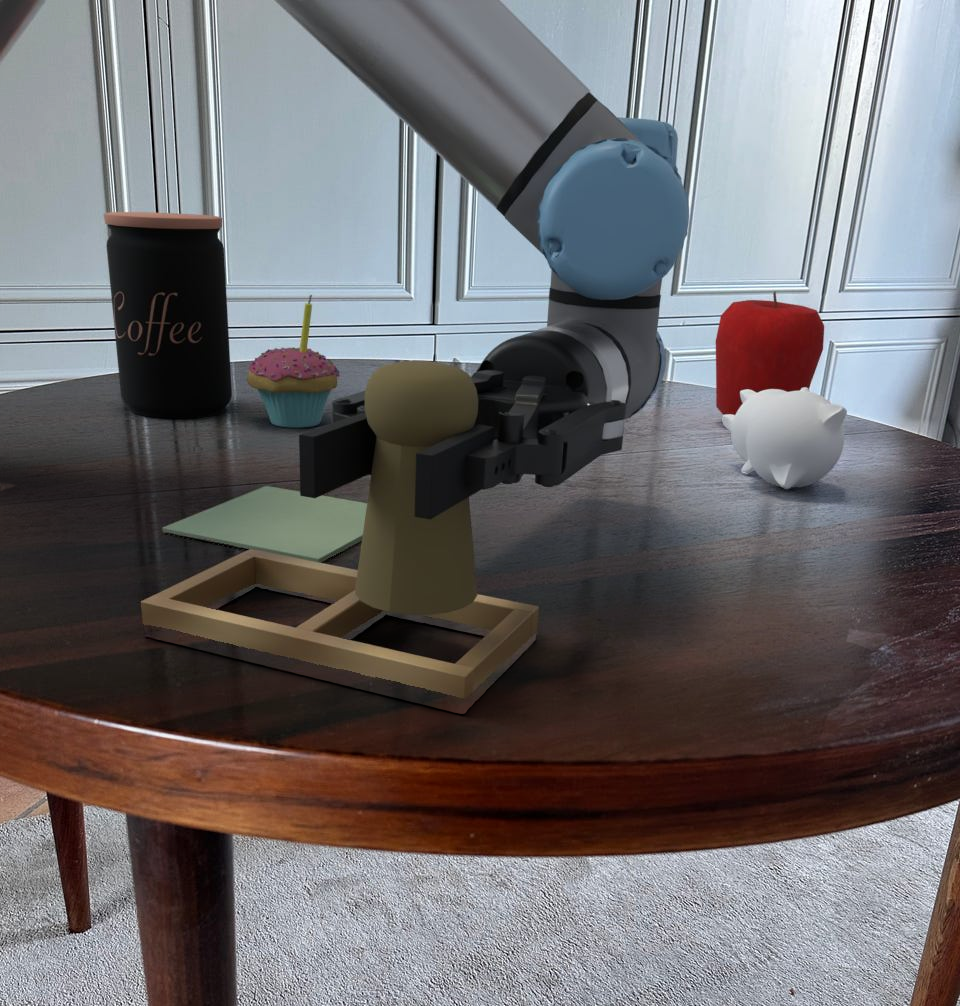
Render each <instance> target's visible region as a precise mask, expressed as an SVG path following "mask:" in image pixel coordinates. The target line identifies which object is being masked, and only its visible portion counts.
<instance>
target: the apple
mask: <svg viewBox="0 0 960 1006" xmlns="http://www.w3.org/2000/svg"><path fill="white" fill-rule="evenodd" d="M772 295H773V300H761V299H747V300H740V301H733V302H732V303H730V305H729V306H728V307H727V308H726V309H725V310H724V311H723V313H722V314H721V315H720V317H719V323H718V327H717V333H716V337H715V406H716V409H718V411H719V412H720V413H721V414H722V415H726V414H732V415H736V413H737V411H738V409H739V408H740V406H741V405H742V404H743V402H742V400H741V397H740V391H742V390H746V389H749V390H753V391H754V392H756V393H758V392H760V391H763V390H767V389H779V390H784V391H787V392H790V391H800V390H801V389H802V388H804V387H807V388H808V389H809V390H810V389H811V384H812V381H813V379H814V375H815V372H816V370H817V367H818V365H819V363H820V359H821V356H822V354H823V351H824V342H825V341H824V340H825V339H824V338H825V324H824V322H823V320H822V317H821V316H820V314H819V312H818V310H817V309H814V308H811V307H808V306H806V305H800V304H794V303H786V302H780V301H777V293H776V291H773V293H772Z"/></svg>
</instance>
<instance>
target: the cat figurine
mask: <svg viewBox="0 0 960 1006" xmlns="http://www.w3.org/2000/svg"><path fill="white" fill-rule="evenodd" d="M740 397H741V400H742V402H743V404H742V405H741V406H740V408H739V409H738V411H737V413H736V415H732V414H726V415H723V414H722V416H721V422H722V424H723V426H724V427H725V428H726V429H727V430H728V431H729V432H730V439H731V443H732V446H733V449H734V450H735V453H736V454H737V455H738V456H739V457H740V459H742V460H743V461H744V462H745V463H744V465H743V466H742V467H741V473H742V472H746V473H750V474H751V473H753V472H754V471H755V473H756V474H757V475H758V476H759V477H760V478H762V480H764V481H765V482H767V483H769V484H770V485H772V486H775V485H776V487H779V486H780V487H779V488H783V489H784V490H790V489H792V488H791V487H799V488H803V487H804V488H805V487H807V486H810V485H812V484H815V483H817V482H819V481H820V480H821V479H823V478H825V477H826V476H827V475H828V474H830V472H831V471H832V470H833V468H834V467H835V466H836V465H837V463H838V461H839V459H840V457H841V455H842V453H843V449H844V446H845V445H844V444H845V426H844V423H843V422H844V421H845V419H846V416H847V415H848V410H847V409H846V408H845V407H844V406H842V405H840V404H837V403H831V402H830V401H829V400H828V399H826V398H825V397H824V396H822V395H820V394H817V393H815V392H812V391H810V388H809V389H808V388H807V387H804V388H802V389H801V390H800V391H790V392H787V391H784V390H779V389H767V390H763V391H760V392H758V393H756V392H754V391H753V390H749V389H746V390H742V391H740Z"/></svg>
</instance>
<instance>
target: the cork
mask: <svg viewBox="0 0 960 1006" xmlns="http://www.w3.org/2000/svg"><path fill="white" fill-rule="evenodd" d="M364 391H365V413H366V417H367V421H368V424H369V426H370V427H371V429H372V430H373V432H374V433H375V435H376V436H377V437H376V444H375V451H374V458H373V465H372V472H371V475H370V480H369V486H368V487H369V488H368V495H367V502H366V503H367V508H366V515H365V522H364V530H363V537H362V541H361V546H360V550H359V551H360V552H359V560H358V567H357V570H358V573H357V580H356V587H355V595H356V596H357V597H358V598H359V599H360V600H361V601H362V602H364V603H365V604H367V605H369V606H371V607H373V608H376V609H380V610H383V611H387V612H392V613H399V614H407V615H433V614H441V613H448V612H452V611H455V610H459V609H462V608H464V607H466V606H468V605H469V604H471V603H473V602H474V600H475V598H476V597H477V594H478V587H477V577H476V576H477V575H476V564H475V563H476V562H475V552H474V541H473V540H474V539H473V529H472V517H471V516H472V515H471V505H470V497H468V498H466V499H465V500H463V501H461V502H460V503H458V504H456V505H454V506H453V507H451V508H449V509H448V510H446V511H444V512H443V513H441V514H439V515H437V516H436V517H434V518H432V519H431V520H430V519H425V518H419V517H414V515H415V477H416V453H417V452H420V451H422V450H424V449H426V448H429V447H431V446H433V445H435V444H437V443H440V442H442V441H444V440H446V439H449V438H451V437H453V436H455V435H457V434H460V433H462V432H464V431H466V430H469V429H471V428H473V427H474V424H475V421H476V417H477V414H478V396H477V390H476V387H475V385H474V383H473V381H472V379H471V375H470V373H468V372H467V371H465V370H464V369H461V368H460V367H457V366H453V365H450V364H448V363H443V362H437V361H431V360H406V361H405V360H404V361H398V362H393V363H388V364H384V365H382V366H380V367H378V368H377V369H375V370H374V371H373V372H372V374H371V375H370V377H369V379H368V381H367V383H366V387H365V390H364Z"/></svg>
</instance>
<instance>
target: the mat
mask: <svg viewBox="0 0 960 1006" xmlns="http://www.w3.org/2000/svg"><path fill="white" fill-rule="evenodd" d="M366 508H367V502H362V501H356V500H349V499H344V498H339V497H334V496H327V495H322V496H319V497H317V498H310V497H304V496H300V490H299V491H298V490H294V489H293V490H291V489H286V488H282V487H275V486H271V485H264V486H262V487H260V488H257V489H255V490H252V491H250V492H247V493H245V494H243V495H240V496H238V497H235V498H232V499H230V500H228V501H224V502H223V503H220V504H218V505H215V506H213V507H212V506H211V507H210V508H208V509H205V510H202V511H200V512H198V513H195V514H193V515H190V516H187V517H186V518H185V517H184V518H183V519H180V520H178V521H175V522H174V523H170V524H168V525H165V526H163V527H162V528H161V531H164V532H169V533H170V532H171V533H174V534H179V535H183V536H188V537H194V538H201V539H206V540H211V541H215V542H220V543H224V544H229V545H234V546H238V547H243V548H249V549H255V550H259V551H264V552H269V553H274V554H279V555H284V556H289V557H294V558H299V559H304V560H309V561H314V562H319V563H321V562H323V561H324V560H326V559H328V558H330V557H332V556H333V557H335V556H337V555H339V554H340V552H341V553H343V552H344V551H346V550H347V549H350V548H351V547H353V546H355V545H357V544H358V543H360V542H362V537H363V530H364V522H365V515H366ZM349 547H350V548H349ZM338 553H339V554H338ZM336 554H337V555H336ZM334 555H335V556H334ZM333 557H332V558H333ZM330 559H331V558H330ZM328 560H329V559H328ZM326 561H327V560H326ZM324 562H325V561H324ZM324 562H323V563H324Z"/></svg>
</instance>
